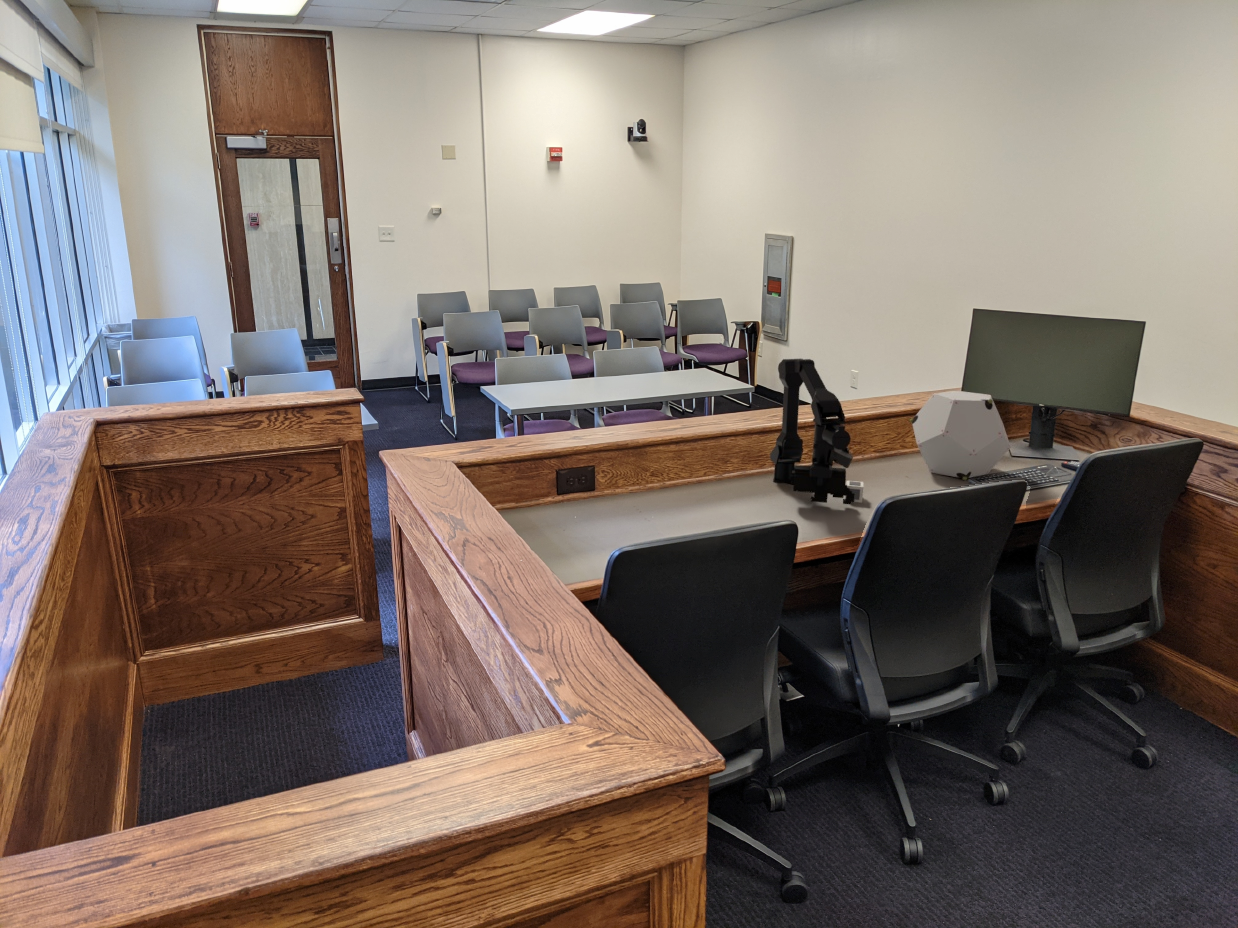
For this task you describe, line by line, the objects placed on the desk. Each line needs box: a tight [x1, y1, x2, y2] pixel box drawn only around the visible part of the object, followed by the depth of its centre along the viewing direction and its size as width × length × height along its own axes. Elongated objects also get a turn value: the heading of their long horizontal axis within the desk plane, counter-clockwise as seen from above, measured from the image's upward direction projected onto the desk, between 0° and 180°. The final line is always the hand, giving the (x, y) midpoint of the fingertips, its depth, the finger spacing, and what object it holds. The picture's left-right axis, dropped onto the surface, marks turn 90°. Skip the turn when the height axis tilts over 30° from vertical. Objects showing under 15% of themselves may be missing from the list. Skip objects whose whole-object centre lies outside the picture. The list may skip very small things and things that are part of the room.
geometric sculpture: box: [909, 390, 1012, 481], centre depth 291 cm, size 30×30×30 cm
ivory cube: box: [844, 480, 865, 503], centre depth 266 cm, size 5×5×5 cm
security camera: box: [790, 464, 855, 505], centre depth 259 cm, size 7×18×10 cm, turn 78°
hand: (819, 491), depth 259 cm, fingers closed on security camera, 7 cm apart
